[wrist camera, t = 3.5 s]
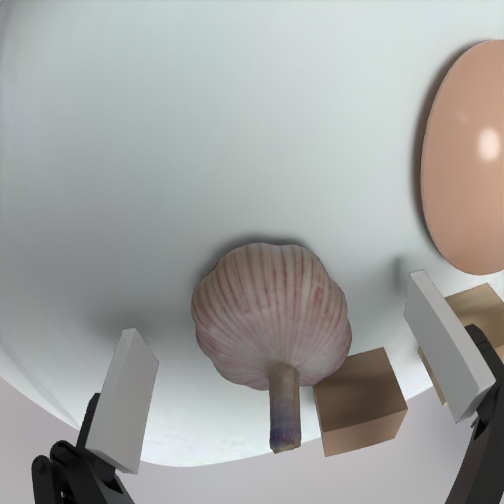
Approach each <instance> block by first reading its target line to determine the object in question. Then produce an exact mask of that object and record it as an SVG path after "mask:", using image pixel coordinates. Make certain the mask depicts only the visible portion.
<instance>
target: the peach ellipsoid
mask: <svg viewBox="0 0 504 504" xmlns="http://www.w3.org/2000/svg"><path fill="white" fill-rule="evenodd" d="M420 179H421V198H422V205H423V212H424V216H425V220H426V224H427V228H428V230H429V233H430V235H431V238H432V240H433V242H434V243H435V245H436V247H437V248H438V250H439V251H440V253H441V254H442V255H443V256H444V257H445V258H446V260H447V261H448V262H449V263H450V264H452V265H453V266H454V267H455V268H457V269H458V270H460V271H462V272H465V273H468V274H472V275H487V274H492V273H496V272H499V271H501V270H503V269H504V40H487V41H484V42H481V43H478V44H476V45H474V46H473V47H471V48H469V49H468V50H467V51H466V52H464V53H463V54H462V55H461V56H460V57H459V58H458V59H457V60H456V62H455V63H454V64H453V65H452V67H451V68H450V69H449V71H448V72H447V74H446V76H445V78H444V80H443V81H442V83H441V85H440V87H439V90H438V92H437V94H436V97H435V99H434V101H433V105H432V108H431V111H430V115H429V118H428V122H427V127H426V131H425V136H424V142H423V150H422V157H421V178H420Z"/></svg>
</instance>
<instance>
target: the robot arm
mask: <svg viewBox="0 0 504 504" xmlns="http://www.w3.org/2000/svg"><path fill="white" fill-rule="evenodd" d="M404 317H405V319H406V321H407V323H408V324H409V326H410V328H411V330H412V332H413V334H414V336H415V338H416V339H417V341H418V343H419V345H420V347H421V349H422V351H423V353H424V355H425V357H426V359H427V361H428V363H429V365H430V367H431V369H432V371H433V373H434V375H435V378H436V380H437V382H438V384H439V386H440V388H441V390H442V393H443V395H444V397H445V399H446V402H447V404H448V406H449V408H450V411H451V413H452V415H453V418H454V420H455V422H456V424H457V423H459V422H461V421H463V420H465V419H467V418H469V417H471V416H472V415H473V413H474V412H475V411H477V413H478V417H477V418H476V419H475V421H474V422H473V423H472V425H471V428H473V426H474V425H475V427H474V430H473V433H472V437H471V440H470V443H469V446H468V449H467V451H466V454H465V457H464V460H463V463H462V465H461V468H460V471H459V473H458V475H457V478H456V480H455V482H454V485H453V487H452V489H451V491H450V494H449V496H448V498H447V500H446V502H445V504H499V503H500V500H501V498H502V495H503V492H504V364H503V362H502V361H501V359H500V357H499V356H498V354H497V353H496V351H495V349H494V348H492V345H491V343H490V342H489V341H488V339H487V337H486V336H485V334H484V333H483V331H482V330H481V329H480V328H478V327H477V326H476V325H474V324H473V323H472V324H470V325H467V326H465V327H463V325H462V324H461V322H460V321H459V319H458V318H457V316H456V315H455V313H454V312H453V310H452V309H451V307H450V306H449V305H448V303H447V302H446V300H445V299H444V298H443V296H442V295H441V293H440V292H439V291H438V289H437V288H436V287H435V285H434V284H433V283H432V281H431V280H430V279H429V277H428V276H427V275H426V273H425V272H424V271H423V270H420V271H417V272H413V273H409V279H408V289H407V297H406V304H405V312H404ZM158 364H159V362H158V360H157V359H156V357H155V356H154V355H153V353H152V352H151V350H150V349H149V347H148V346H147V344H146V342H145V341H144V339H143V338H142V336H141V335H140V333H139V332H138V330H137V328H128V329H123V331H122V334H121V336H120V339H119V342H118V345H117V347H116V350H115V353H114V356H113V358H112V361H111V364H110V367H109V370H108V373H107V376H106V379H105V382H104V385H103V388H102V391H101V393H95V394H94V396H93V397H92V398H91V400H90V401H89V404H88V407H87V410H86V412H87V413H85V417H84V421H83V423H82V426H81V430H80V434H79V437H78V440H77V444H76V447H74V446H73V445H71V444H70V443H69V442H67V441H64V440H61V441H58V442H56V443H55V444H54V445H53V446H52V448H51V451H50V459H49V458H47V457H46V456H44V455H39V456H38V457H36V458H35V459H34V461H33V463H32V469H31V470H32V481H33V491H34V499H35V504H135V503H134V502H133V500H132V499H131V497H130V495H129V494H128V492H127V491H126V489H125V487H124V486H123V484H122V482H121V481H120V479H119V477H118V476H117V475H116V473H115V469H118V470H119V471H121V472H123V473H130V474H138V468H139V461H140V456H141V450H142V444H143V438H144V433H145V427H146V422H147V417H148V412H149V407H150V402H151V397H152V392H153V387H154V382H155V378H156V373H157V369H158ZM61 492H62V494H63V497H62V495H61Z"/></svg>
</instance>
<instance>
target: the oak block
mask: <svg viewBox="0 0 504 504" xmlns="http://www.w3.org/2000/svg"><path fill="white" fill-rule="evenodd" d="M444 299H445V300H446V302H447V303H448V305H449V306H450V307H451V309H452V310H453V312H454V313H455V315H456V316H457V318H458V319H459V321H460V322H461V324H462V325H463V327H465V326H467V325H470V324H472V323H473V324H474V325H476V326H477V327H478V328H480V329H481V330H482V331H483V333H484V334H485V336H486V337H487V339H488V341H489V342H490V343H491V345H492V348H494V349H495V351H496V353H497V354H498V356H499V357H500V359H501V361H502V362H503V364H504V302H503V301H502V300H501V298H500V297H499V296H498V295H497V294H496V292H495V291H494V290H493V289H492V288H491V286H490V285H489V284H488V283H484V284H482V285H479V286H477V287H474V288H471V289H468V290H466V291H463V292H460V293H457V294H454V295H452V296H449V297H446V298H444ZM418 353H419V355H420V357H421V360H422V362H423V364H424V366H425V368H426V370H427V372H428V374H429V376H430V379H431V381H432V383H433V385H434V387H435V389H436V391H437V394H438V396H439V399H440V401H441V403H442V406H445V405H448V404H447V402H446V399H445V397H444V395H443V393H442V390H441V388H440V386H439V384H438V382H437V380H436V378H435V375H434V373H433V371H432V369H431V367H430V365H429V363H428V361H427V359H426V357H425V355H424V353H423V351H422V349H421V347H420V346H419V350H418Z"/></svg>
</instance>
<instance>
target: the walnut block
mask: <svg viewBox="0 0 504 504" xmlns="http://www.w3.org/2000/svg"><path fill="white" fill-rule="evenodd" d="M313 392H314V399H315V405H316V410H317V415H318V421H319V426H320V431H321V437H322V442H323V448H324V454H325V457H328V456H332V455H337V454H341V453H345V452H349V451H353V450H357V449H360V448H364V447H368V446H371V445H375V444H378V443H381V442H384V441H387V440H391V439H394V438H395V436H396V434H397V432H398V430H399V427H400V425H401V423H402V421H403V419H404V417H405V414H406V412H407V410H408V407H407V405H406V402H405V399H404V397H403V394H402V392H401V389H400V386H399V384H398V381H397V379H396V376H395V374H394V371H393V369H392V366H391V364H390V362H389V359H388V357H387V354H386V352H385V350H384V347H381V348H378V349H374V350H371V351H367V352H363V353H359V354H356V355H352V356H348V357H346V359H345V361H344V363H343V364H342V365H341V367H340V368H339V369H338V370H336V371H335V372H334V373H332V374H331V375H329V376H327V377H325V378H323V379H322V380H320V381H319V382H318V383H316V384H315V385H313Z"/></svg>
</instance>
